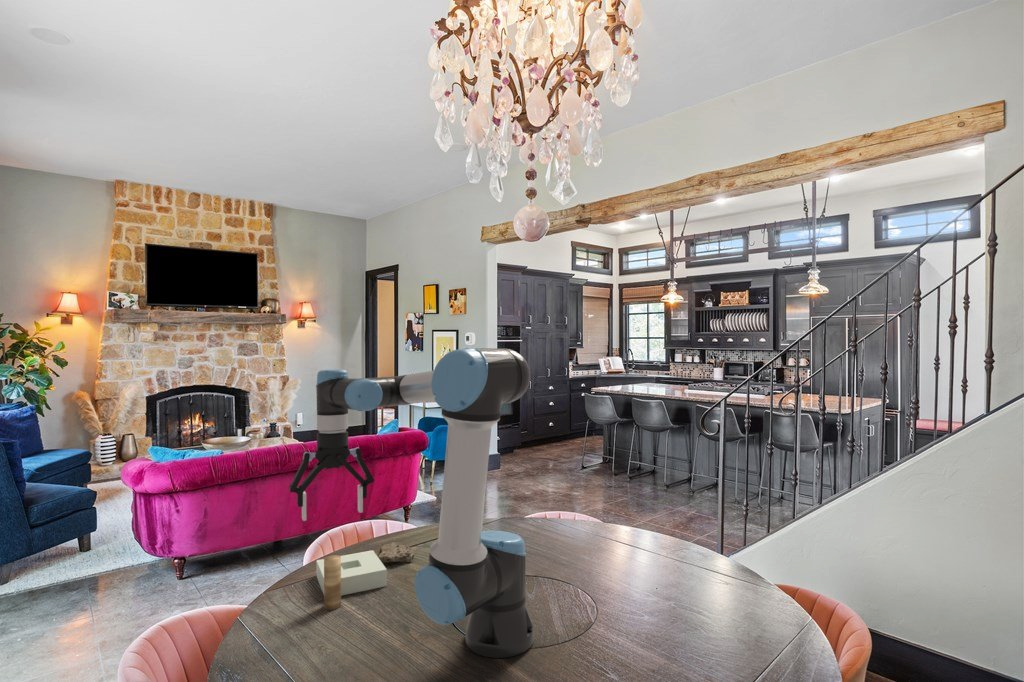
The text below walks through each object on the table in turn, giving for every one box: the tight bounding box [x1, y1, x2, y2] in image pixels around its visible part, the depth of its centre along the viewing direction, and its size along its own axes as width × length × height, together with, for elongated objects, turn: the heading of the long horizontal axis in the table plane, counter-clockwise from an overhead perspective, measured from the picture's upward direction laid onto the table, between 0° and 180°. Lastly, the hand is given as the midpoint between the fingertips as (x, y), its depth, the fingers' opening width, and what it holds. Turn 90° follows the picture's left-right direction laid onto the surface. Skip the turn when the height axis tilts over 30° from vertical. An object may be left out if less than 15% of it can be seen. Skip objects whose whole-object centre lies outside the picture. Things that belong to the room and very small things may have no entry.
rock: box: [376, 541, 415, 564], centre depth 166 cm, size 11×11×4 cm
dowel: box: [323, 554, 342, 611], centre depth 137 cm, size 4×4×12 cm
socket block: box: [315, 549, 388, 597], centre depth 151 cm, size 16×16×4 cm
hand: (332, 515), depth 137 cm, fingers open, 13 cm apart
